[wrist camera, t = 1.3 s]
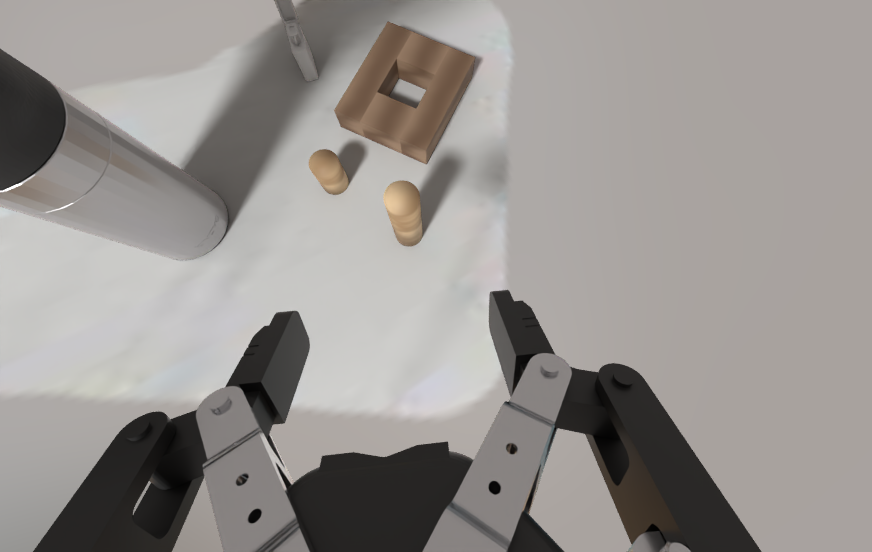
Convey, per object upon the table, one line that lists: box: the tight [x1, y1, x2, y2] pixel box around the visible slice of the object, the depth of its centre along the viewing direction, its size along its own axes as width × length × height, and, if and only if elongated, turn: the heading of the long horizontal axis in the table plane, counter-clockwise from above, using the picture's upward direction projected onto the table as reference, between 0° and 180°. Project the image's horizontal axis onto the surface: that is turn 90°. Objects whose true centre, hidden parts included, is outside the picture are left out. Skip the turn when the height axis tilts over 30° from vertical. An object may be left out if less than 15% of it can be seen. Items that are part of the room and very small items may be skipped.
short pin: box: [309, 149, 349, 195], centre depth 37 cm, size 3×3×4 cm
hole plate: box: [334, 22, 475, 164], centre depth 40 cm, size 12×14×3 cm
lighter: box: [274, 0, 319, 82], centre depth 38 cm, size 7×2×8 cm, turn 18°
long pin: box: [384, 181, 423, 246], centre depth 33 cm, size 3×3×10 cm
